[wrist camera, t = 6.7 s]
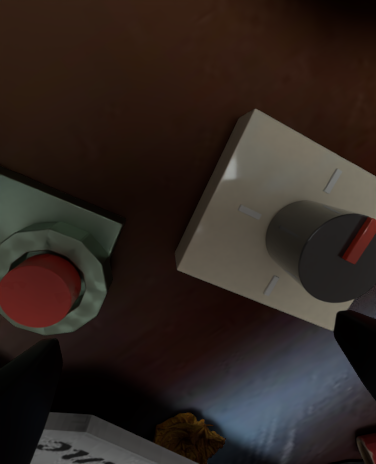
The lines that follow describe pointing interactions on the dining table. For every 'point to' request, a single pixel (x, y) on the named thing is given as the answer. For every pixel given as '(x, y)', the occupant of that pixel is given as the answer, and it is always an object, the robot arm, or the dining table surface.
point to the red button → (40, 290)
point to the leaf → (188, 438)
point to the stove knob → (324, 249)
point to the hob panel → (267, 212)
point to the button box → (57, 241)
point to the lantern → (354, 463)
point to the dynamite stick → (367, 447)
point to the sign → (96, 443)
